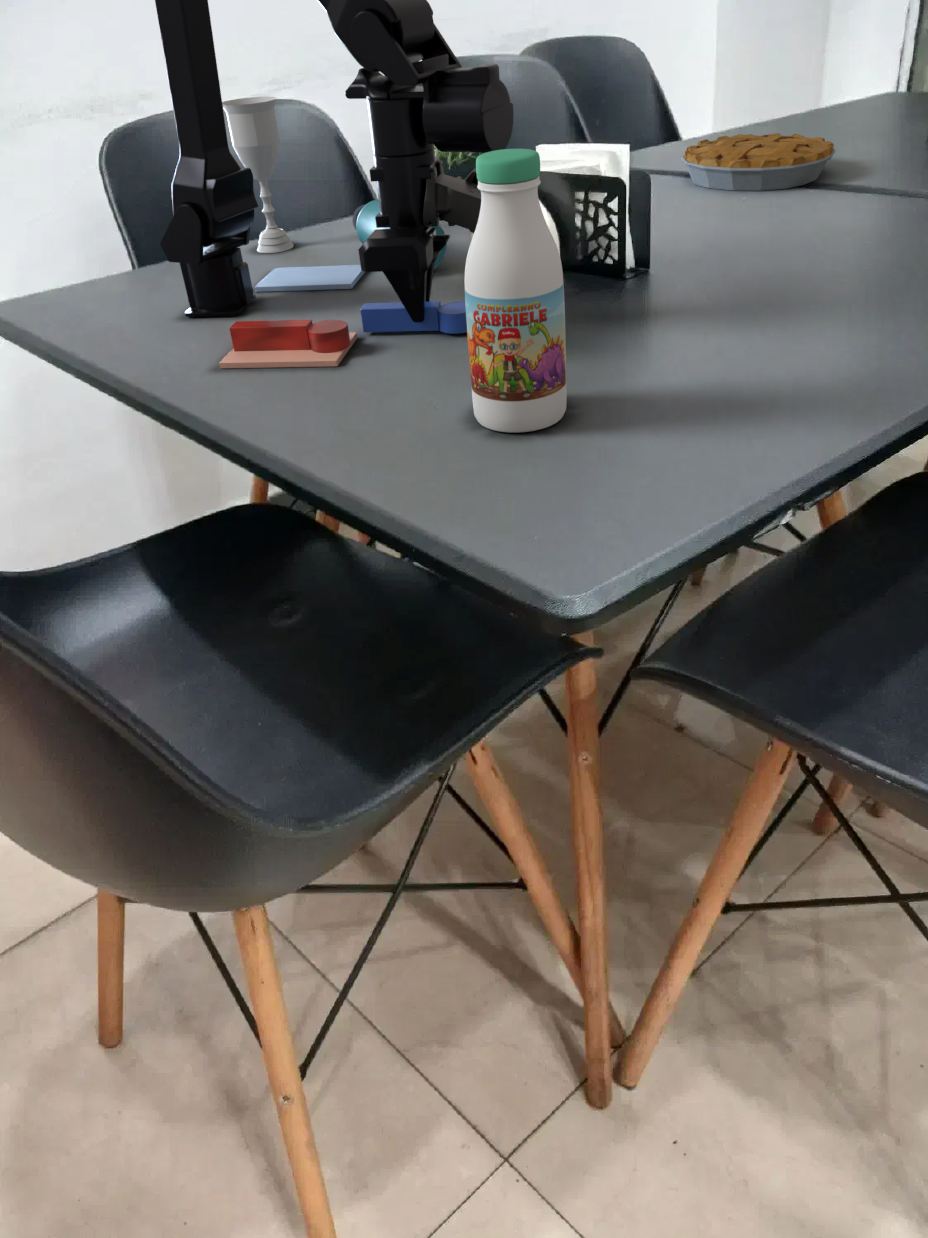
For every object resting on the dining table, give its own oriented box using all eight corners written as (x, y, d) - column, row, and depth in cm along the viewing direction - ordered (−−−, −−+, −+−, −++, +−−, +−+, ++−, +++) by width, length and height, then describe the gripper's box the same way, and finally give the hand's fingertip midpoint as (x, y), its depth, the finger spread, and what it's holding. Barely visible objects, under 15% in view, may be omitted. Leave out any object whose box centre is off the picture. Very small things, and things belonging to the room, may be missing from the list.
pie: (805, 196, 133) (810, 157, 131) (657, 189, 144) (658, 152, 141) (850, 164, 148) (855, 127, 145) (712, 159, 158) (714, 125, 156)
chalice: (239, 253, 132) (209, 105, 122) (265, 240, 137) (238, 97, 127) (285, 255, 129) (258, 104, 119) (310, 241, 134) (287, 95, 124)
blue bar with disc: (360, 335, 99) (357, 312, 98) (369, 322, 102) (366, 299, 101) (474, 333, 97) (473, 309, 96) (480, 319, 100) (478, 296, 99)
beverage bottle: (430, 207, 111) (365, 180, 126) (392, 252, 112) (332, 220, 127) (464, 247, 116) (397, 216, 131) (428, 290, 116) (365, 254, 131)
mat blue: (255, 291, 116) (254, 286, 116) (275, 272, 123) (275, 267, 123) (351, 288, 114) (350, 283, 114) (367, 269, 121) (366, 264, 120)
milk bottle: (469, 402, 84) (449, 149, 72) (558, 393, 84) (552, 138, 72) (478, 440, 77) (457, 168, 66) (574, 429, 78) (570, 156, 66)
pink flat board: (220, 368, 96) (218, 362, 95) (247, 340, 102) (246, 334, 102) (337, 366, 94) (336, 360, 93) (357, 337, 100) (356, 331, 100)
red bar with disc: (230, 354, 97) (225, 331, 95) (244, 340, 100) (239, 317, 99) (344, 352, 95) (341, 328, 93) (354, 338, 98) (351, 314, 97)
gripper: (474, 167, 81) (486, 348, 90) (502, 128, 96) (509, 287, 105) (346, 173, 83) (370, 351, 92) (392, 135, 98) (409, 290, 107)
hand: (420, 317), depth 99 cm, fingers closed on blue bar with disc, 2 cm apart
